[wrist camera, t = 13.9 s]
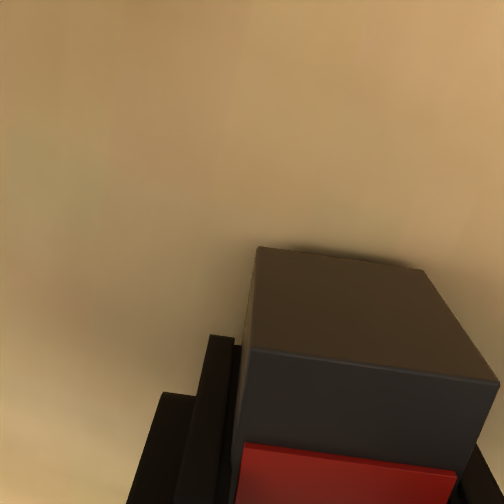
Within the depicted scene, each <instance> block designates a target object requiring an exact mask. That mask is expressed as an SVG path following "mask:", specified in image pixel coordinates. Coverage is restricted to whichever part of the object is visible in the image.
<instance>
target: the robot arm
mask: <svg viewBox="0 0 504 504" xmlns="http://www.w3.org/2000/svg"><path fill="white" fill-rule="evenodd" d="M234 342H235V338H233V337H226V336H219V335H212V334H210V336H209V341H208V345H207V350H206V354H205V359H204V363H203V368H202V372H201V377H200V381H199V386H198V390H197V395H196V396H190V395H183V394H176V393H169V392H163V393H162V395H161V397H160V400H159V403H158V406H157V409H156V413H155V416H154V419H153V422H152V425H151V428H150V431H149V434H148V437H147V440H146V443H145V446H144V450H143V453H142V456H141V459H140V462H139V465H138V468H137V471H136V474H135V477H134V480H133V484H132V487H131V490H130V493H129V496H128V499H127V502H126V504H228V502H229V494H230V485H231V475H232V468H230V466H229V463H230V454H231V444H232V434H233V425H234V415H235V406H236V396H237V387H238V377H239V367H240V358H241V348H242V346H240V345H234ZM446 504H504V496H503V494H502V492H501V490H500V488H499V486H498V484H497V482H496V480H495V479H494V477H493V475H492V473H491V471H490V469H489V467H488V465H487V463H486V461H485V459H484V457H483V455H482V453H481V451H480V449H479V448H478V446H477V444H475V446H474V449H473V451H472V453H471V456H470V458H469V460H468V463H467V465H466V467H465V470H464V472H463V474H462V477H461V479H460V482H459V484H458V486H457V489H456V491H455V493H454V496H453V498H451V499H448V501H447V503H446Z"/></svg>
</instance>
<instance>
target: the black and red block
mask: <svg viewBox="0 0 504 504" xmlns="http://www.w3.org/2000/svg"><path fill="white" fill-rule="evenodd" d="M241 346H242V348H241V358H240V367H239V377H238V387H237V396H236V406H235V415H234V425H233V434H232V444H231V454H230V463H229V466H230V468H232V475H231V485H230V494H229V502H228V504H446V503H447V501H448V499H451V498H453V496H454V493H455V491H456V489H457V486H458V484H459V482H460V479H461V477H462V474H463V472H464V470H465V467H466V465H467V463H468V460H469V458H470V456H471V453H472V451H473V449H474V446H475V444H476V442H477V439H478V437H479V434H480V432H481V430H482V427H483V425H484V423H485V420H486V418H487V416H488V413H489V411H490V409H491V406H492V404H493V402H494V399H495V397H496V394H497V392H498V390H499V387H500V381H499V380H498V379H497V377H496V376H495V374H494V373H493V371H492V370H491V368H490V367H489V365H488V364H487V363H486V361H485V360H484V358H483V357H482V355H481V354H480V352H479V351H478V349H477V348H476V347H475V345H474V344H473V342H472V341H471V339H470V338H469V336H468V335H467V333H466V332H465V331H464V329H463V328H462V326H461V325H460V323H459V322H458V320H457V319H456V317H455V316H454V315H453V313H452V312H451V310H450V309H449V307H448V306H447V304H446V303H445V301H444V300H443V299H442V297H441V296H440V294H439V293H438V291H437V290H436V288H435V287H434V285H433V284H432V283H431V281H430V280H429V278H428V277H427V275H426V274H425V272H424V271H423V270H419V269H412V268H405V267H398V266H391V265H385V264H378V263H371V262H364V261H357V260H350V259H344V258H337V257H330V256H323V255H316V254H309V253H303V252H296V251H289V250H282V249H275V248H268V247H262V246H258V247H257V249H256V255H255V262H254V268H253V274H252V281H251V287H250V293H249V300H248V306H247V313H246V319H245V325H244V332H243V338H242V344H241Z"/></svg>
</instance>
